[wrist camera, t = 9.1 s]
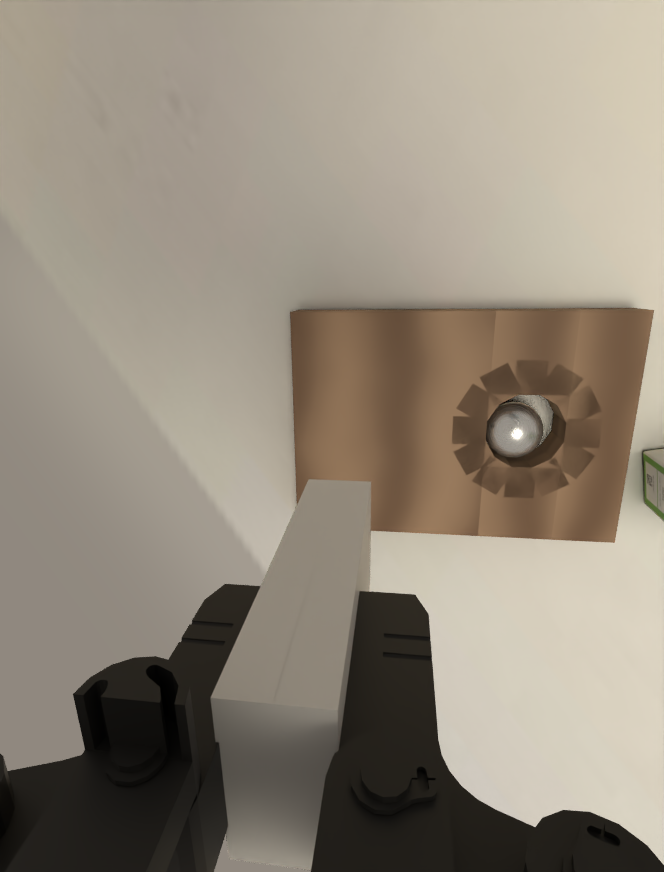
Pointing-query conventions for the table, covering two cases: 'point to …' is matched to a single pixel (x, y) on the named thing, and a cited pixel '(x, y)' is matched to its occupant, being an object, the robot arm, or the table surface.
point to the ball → (514, 429)
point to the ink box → (654, 481)
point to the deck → (470, 414)
